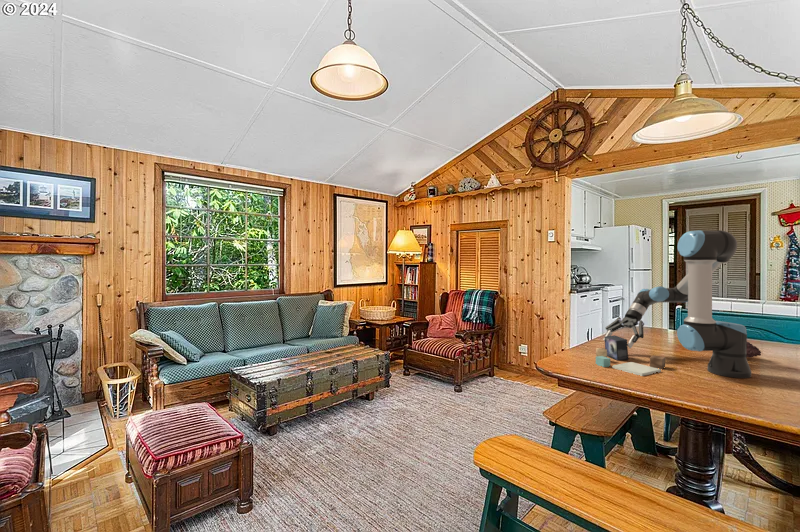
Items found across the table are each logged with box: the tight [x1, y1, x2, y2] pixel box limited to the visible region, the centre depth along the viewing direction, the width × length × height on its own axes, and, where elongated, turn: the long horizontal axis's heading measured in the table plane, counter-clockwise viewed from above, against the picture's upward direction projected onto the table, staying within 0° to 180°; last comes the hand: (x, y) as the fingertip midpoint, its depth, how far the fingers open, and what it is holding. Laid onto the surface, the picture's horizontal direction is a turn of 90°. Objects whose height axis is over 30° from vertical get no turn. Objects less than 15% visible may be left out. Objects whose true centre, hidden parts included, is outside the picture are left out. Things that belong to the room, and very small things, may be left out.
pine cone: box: [746, 341, 762, 358], centre depth 197 cm, size 18×10×10 cm, turn 8°
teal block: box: [595, 356, 611, 368], centre depth 187 cm, size 5×4×4 cm
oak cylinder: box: [595, 347, 608, 358], centre depth 196 cm, size 5×5×6 cm
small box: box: [603, 335, 629, 362], centre depth 201 cm, size 11×6×10 cm, turn 4°
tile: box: [611, 361, 662, 377], centre depth 179 cm, size 14×14×1 cm
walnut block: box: [649, 355, 666, 370], centre depth 183 cm, size 5×5×5 cm
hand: (616, 343), depth 203 cm, fingers open, 13 cm apart
